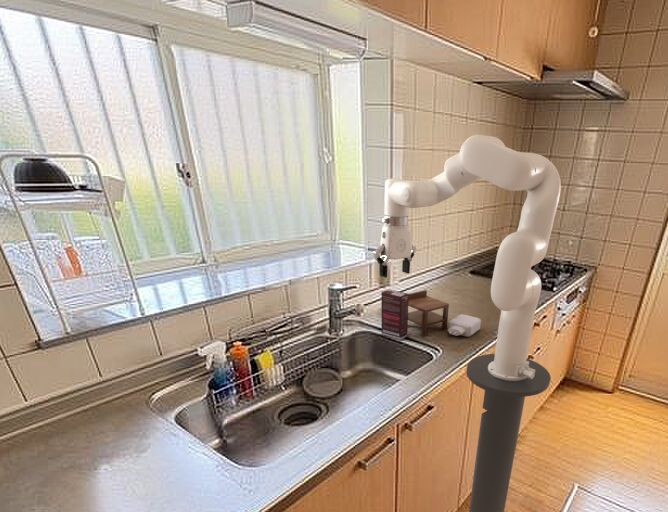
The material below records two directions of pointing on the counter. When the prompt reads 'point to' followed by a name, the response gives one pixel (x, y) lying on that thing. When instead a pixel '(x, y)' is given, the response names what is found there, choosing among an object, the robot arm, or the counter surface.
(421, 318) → the shelf rack
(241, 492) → the counter surface
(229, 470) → the counter surface
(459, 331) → the charger
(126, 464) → the counter surface
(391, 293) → the supplement box
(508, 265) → the robot arm
